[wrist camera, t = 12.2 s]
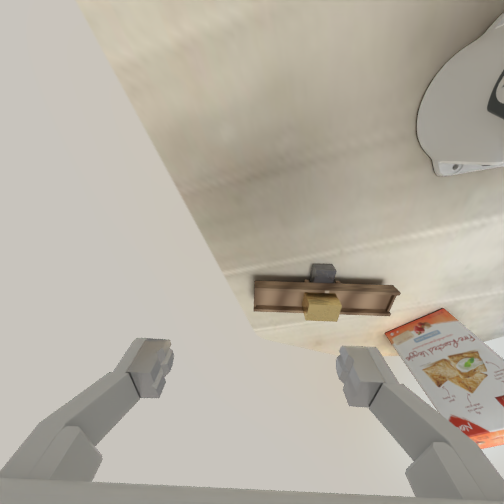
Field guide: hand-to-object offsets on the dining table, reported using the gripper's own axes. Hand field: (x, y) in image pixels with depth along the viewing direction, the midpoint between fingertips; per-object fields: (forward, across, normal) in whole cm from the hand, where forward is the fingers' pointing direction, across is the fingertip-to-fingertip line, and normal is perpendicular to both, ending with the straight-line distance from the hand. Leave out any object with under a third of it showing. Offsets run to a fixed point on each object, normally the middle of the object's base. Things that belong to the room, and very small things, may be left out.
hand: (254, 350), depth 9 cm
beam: (+27, -14, +18) cm, 35 cm away
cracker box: (+29, -40, +29) cm, 58 cm away
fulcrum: (+29, -14, +18) cm, 37 cm away
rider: (+25, -13, +18) cm, 34 cm away
